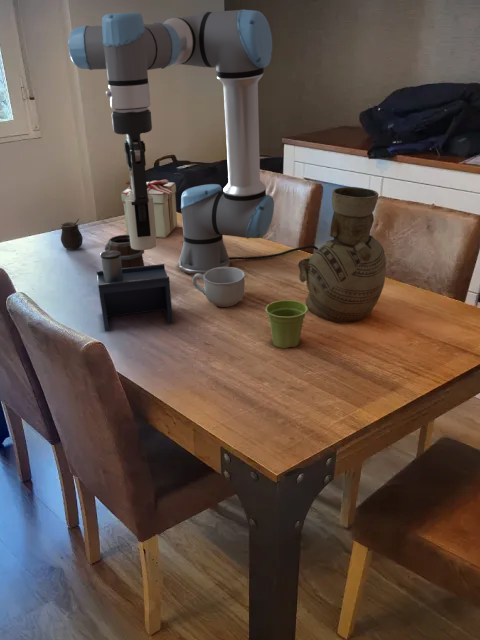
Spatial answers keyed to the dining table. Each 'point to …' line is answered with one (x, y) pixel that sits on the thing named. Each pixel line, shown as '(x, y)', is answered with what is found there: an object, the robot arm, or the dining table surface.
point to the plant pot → (286, 322)
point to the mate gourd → (71, 235)
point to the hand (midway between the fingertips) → (142, 231)
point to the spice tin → (112, 266)
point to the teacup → (222, 285)
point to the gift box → (159, 206)
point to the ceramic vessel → (346, 261)
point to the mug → (125, 251)
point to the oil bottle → (135, 241)
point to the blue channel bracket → (136, 292)
